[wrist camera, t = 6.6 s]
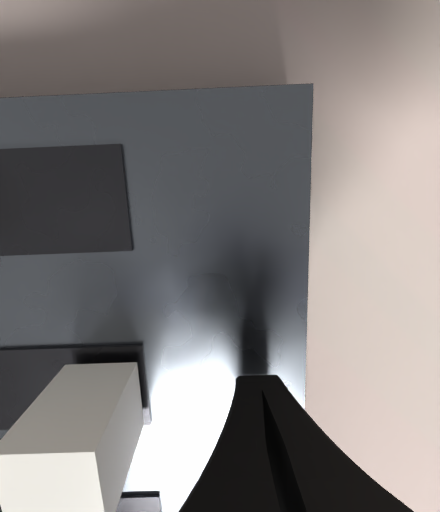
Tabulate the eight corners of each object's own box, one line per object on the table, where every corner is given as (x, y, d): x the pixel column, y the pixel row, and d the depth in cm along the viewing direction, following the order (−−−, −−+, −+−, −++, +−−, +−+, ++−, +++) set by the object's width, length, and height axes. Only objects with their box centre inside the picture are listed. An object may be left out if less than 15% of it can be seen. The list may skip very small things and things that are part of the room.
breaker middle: (143, 423, 11) (108, 534, 7) (76, 425, 11) (8, 537, 7) (137, 362, 10) (94, 451, 7) (65, 364, 10) (-13, 455, 7)
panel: (286, 506, 16) (300, 580, 13) (-77, 515, 16) (-144, 590, 13) (290, 107, 12) (314, 81, 9) (-206, 130, 12) (-350, 112, 9)
